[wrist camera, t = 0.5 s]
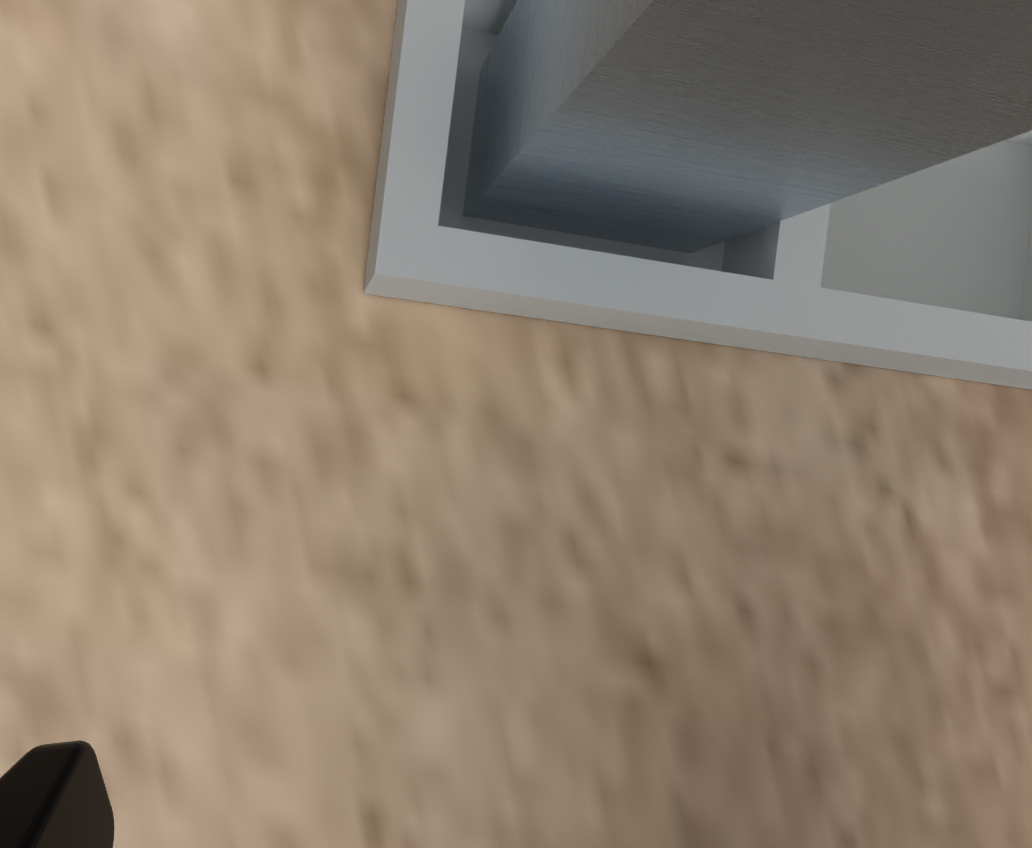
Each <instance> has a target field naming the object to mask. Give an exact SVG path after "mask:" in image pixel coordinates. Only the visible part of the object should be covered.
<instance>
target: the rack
mask: <svg viewBox="0 0 1032 848" xmlns="http://www.w3.org/2000/svg"><path fill="white" fill-rule="evenodd" d="M516 2H517V0H398V6H397V15H396V23H395V31H394V40H393V48H392V56H391V65H390V73H389V82H388V90H387V98H386V107H385V115H384V123H383V132H382V140H381V149H380V157H379V165H378V174H377V182H376V190H375V199H374V207H373V216H372V224H371V232H370V241H369V249H368V257H367V266H366V274H365V282H364V291H363V293H364V294H371V295H378V296H385V297H392V298H399V299H406V300H413V301H419V302H426V303H433V304H440V305H447V306H454V307H461V308H468V309H475V310H482V311H489V312H496V313H503V314H510V315H517V316H524V317H531V318H538V319H544V320H551V321H558V322H565V323H572V324H579V325H586V326H593V327H600V328H607V329H614V330H621V331H628V332H635V333H642V334H649V335H656V336H663V337H669V338H676V339H683V340H690V341H697V342H704V343H711V344H718V345H725V346H732V347H739V348H746V349H753V350H760V351H767V352H774V353H781V354H788V355H794V356H801V357H808V358H815V359H822V360H829V361H836V362H843V363H850V364H857V365H864V366H871V367H878V368H885V369H892V370H899V371H906V372H913V373H920V374H926V375H933V376H940V377H947V378H954V379H961V380H968V381H975V382H982V383H989V384H996V385H1003V386H1010V387H1017V388H1024V389H1031V390H1032V130H1031V131H1028V132H1026V133H1023V134H1020V135H1017V136H1015V137H1012V138H1009V139H1006V140H1004V141H1001V142H998V143H995V144H992V145H990V146H987V147H984V148H981V149H979V150H976V151H973V152H970V153H968V154H965V155H962V156H959V157H956V158H954V159H951V160H948V161H945V162H943V163H940V164H937V165H934V166H932V167H929V168H926V169H923V170H920V171H918V172H915V173H912V174H909V175H907V176H904V177H901V178H898V179H896V180H893V181H890V182H887V183H884V184H882V185H879V186H876V187H873V188H871V189H868V190H865V191H862V192H860V193H857V194H854V195H851V196H848V197H846V198H843V199H840V200H837V201H835V202H832V203H829V204H826V205H824V206H821V207H818V208H815V209H812V210H810V211H807V212H804V213H801V214H799V215H796V216H793V217H790V218H788V219H785V220H782V221H779V222H776V223H774V224H771V225H768V226H765V227H763V228H760V229H757V230H754V231H752V232H749V233H746V234H743V235H741V236H738V237H735V238H732V239H729V240H727V241H724V242H721V243H718V244H716V245H713V246H710V247H707V248H705V249H702V250H699V251H696V252H693V253H685V252H679V251H673V250H667V249H661V248H655V247H649V246H643V245H637V244H631V243H625V242H619V241H613V240H606V239H600V238H594V237H588V236H582V235H576V234H570V233H564V232H558V231H552V230H546V229H540V228H534V227H528V226H521V225H515V224H509V223H503V222H497V221H491V220H485V219H479V218H473V217H467V216H463V208H464V200H465V191H466V183H467V175H468V166H469V158H470V150H471V141H472V133H473V125H474V116H475V108H476V100H477V91H478V83H479V75H480V69H481V67H482V65H483V63H484V61H485V59H486V58H487V56H488V54H489V52H490V50H491V48H492V46H493V45H494V43H495V41H496V39H497V37H498V35H499V33H500V32H501V30H502V28H503V26H504V24H505V22H506V20H507V19H508V17H509V15H510V13H511V11H512V9H513V8H514V6H515V4H516Z"/></svg>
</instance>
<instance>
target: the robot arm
mask: <svg viewBox="0 0 1032 848" xmlns="http://www.w3.org/2000/svg"><path fill="white" fill-rule="evenodd" d="M113 841H114V817H113V811H112V807H111V804H110V801H109V797H108V794H107V791H106V787H105V784H104V781H103V777H102V774H101V771H100V767H99V764H98V761H97V757H96V754H95V752H94V750H93V748H92V747H91V745H90V744H89V743H87V742H84V741H71V742H62V743H53V744H44V745H40V746H37V747H35V748H33V749H31V750H30V751H29V752H28V753H26V754H25V755H24V756H23V757H22V758H21V759H20V760H19V761H18V762H17V763H16V764H15V765H13V766H12V767H11V768H10V769H9V770H8V771H7V772H6V773H5V774H4V775H3V776H2V777H1V778H0V848H113Z"/></svg>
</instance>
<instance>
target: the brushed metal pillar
mask: <svg viewBox="0 0 1032 848" xmlns="http://www.w3.org/2000/svg"><path fill="white" fill-rule="evenodd" d="M1031 130H1032V0H517V2H516V4H515V6H514V8H513V9H512V11H511V13H510V15H509V17H508V19H507V20H506V22H505V24H504V26H503V28H502V30H501V32H500V33H499V35H498V37H497V39H496V41H495V43H494V45H493V46H492V48H491V50H490V52H489V54H488V56H487V58H486V59H485V61H484V63H483V65H482V67H481V69H480V75H479V83H478V91H477V100H476V108H475V116H474V125H473V133H472V141H471V150H470V158H469V166H468V175H467V183H466V191H465V200H464V208H463V216H467V217H473V218H479V219H485V220H491V221H497V222H503V223H509V224H515V225H521V226H528V227H534V228H540V229H546V230H552V231H558V232H564V233H570V234H576V235H582V236H588V237H594V238H600V239H606V240H613V241H619V242H625V243H631V244H637V245H643V246H649V247H655V248H661V249H667V250H673V251H679V252H685V253H693V252H696V251H699V250H702V249H705V248H707V247H710V246H713V245H716V244H718V243H721V242H724V241H727V240H729V239H732V238H735V237H738V236H741V235H743V234H746V233H749V232H752V231H754V230H757V229H760V228H763V227H765V226H768V225H771V224H774V223H776V222H779V221H782V220H785V219H788V218H790V217H793V216H796V215H799V214H801V213H804V212H807V211H810V210H812V209H815V208H818V207H821V206H824V205H826V204H829V203H832V202H835V201H837V200H840V199H843V198H846V197H848V196H851V195H854V194H857V193H860V192H862V191H865V190H868V189H871V188H873V187H876V186H879V185H882V184H884V183H887V182H890V181H893V180H896V179H898V178H901V177H904V176H907V175H909V174H912V173H915V172H918V171H920V170H923V169H926V168H929V167H932V166H934V165H937V164H940V163H943V162H945V161H948V160H951V159H954V158H956V157H959V156H962V155H965V154H968V153H970V152H973V151H976V150H979V149H981V148H984V147H987V146H990V145H992V144H995V143H998V142H1001V141H1004V140H1006V139H1009V138H1012V137H1015V136H1017V135H1020V134H1023V133H1026V132H1028V131H1031Z"/></svg>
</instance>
